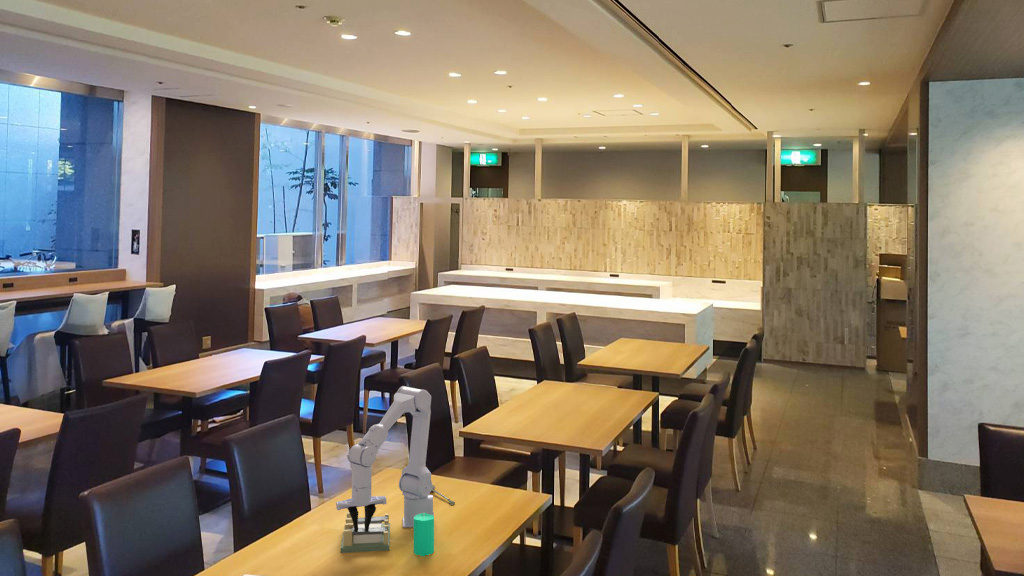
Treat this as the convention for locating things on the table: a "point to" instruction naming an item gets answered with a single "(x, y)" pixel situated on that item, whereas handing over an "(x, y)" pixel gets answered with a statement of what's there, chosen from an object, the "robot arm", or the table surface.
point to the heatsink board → (367, 545)
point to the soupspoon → (442, 495)
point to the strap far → (373, 519)
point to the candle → (423, 534)
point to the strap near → (370, 531)
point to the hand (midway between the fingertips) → (361, 530)
